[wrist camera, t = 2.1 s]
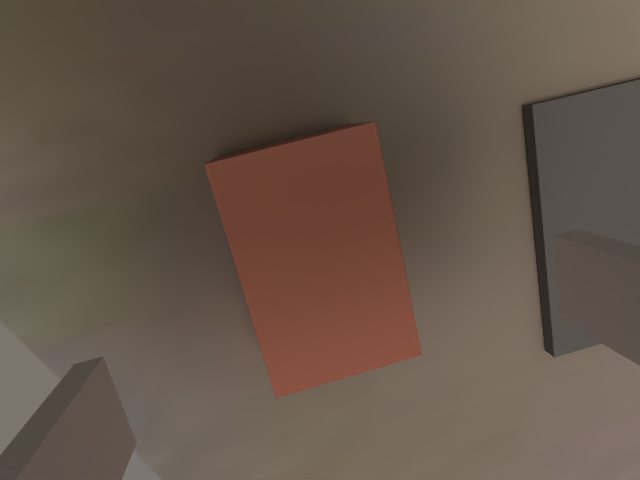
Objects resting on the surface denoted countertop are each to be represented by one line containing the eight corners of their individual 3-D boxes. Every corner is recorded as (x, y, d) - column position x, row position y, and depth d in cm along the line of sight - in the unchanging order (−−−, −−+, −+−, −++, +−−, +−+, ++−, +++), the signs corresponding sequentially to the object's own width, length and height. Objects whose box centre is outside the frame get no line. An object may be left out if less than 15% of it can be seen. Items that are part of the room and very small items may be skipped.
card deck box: (216, 157, 20) (204, 164, 16) (348, 124, 21) (375, 121, 16) (271, 342, 23) (275, 397, 18) (387, 309, 24) (421, 354, 19)
